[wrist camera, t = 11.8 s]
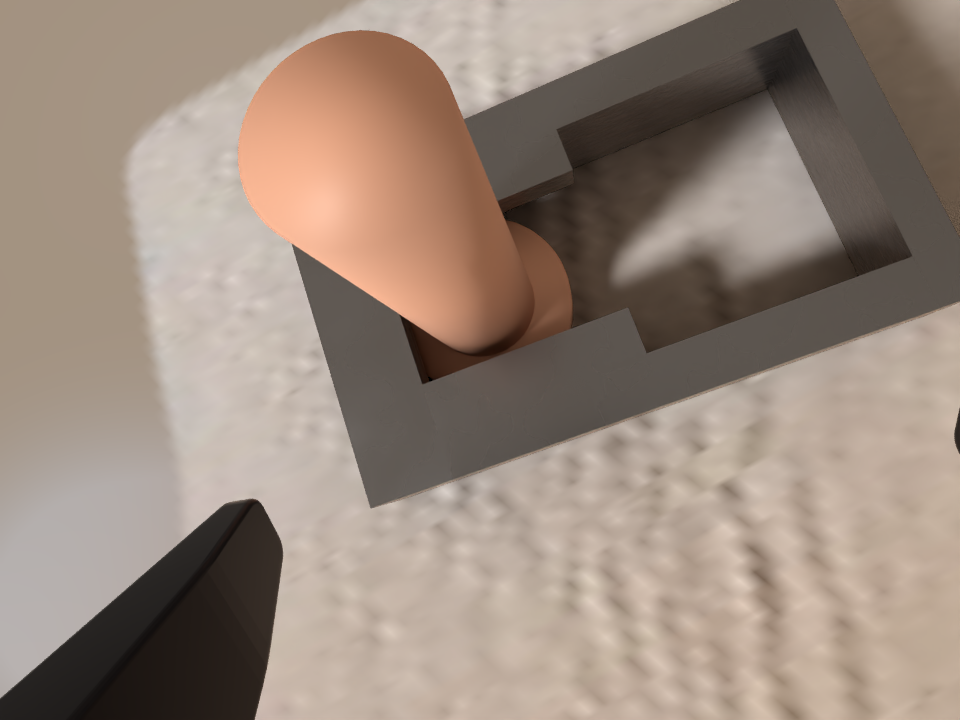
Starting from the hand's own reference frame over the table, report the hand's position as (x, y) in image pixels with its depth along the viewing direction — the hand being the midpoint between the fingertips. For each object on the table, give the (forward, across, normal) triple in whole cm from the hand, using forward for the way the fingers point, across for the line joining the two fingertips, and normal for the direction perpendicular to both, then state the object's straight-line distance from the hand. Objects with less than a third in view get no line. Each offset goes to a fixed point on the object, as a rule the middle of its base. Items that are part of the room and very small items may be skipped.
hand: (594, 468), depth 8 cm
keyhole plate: (+14, -2, +3) cm, 15 cm away
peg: (+14, +2, +4) cm, 15 cm away
